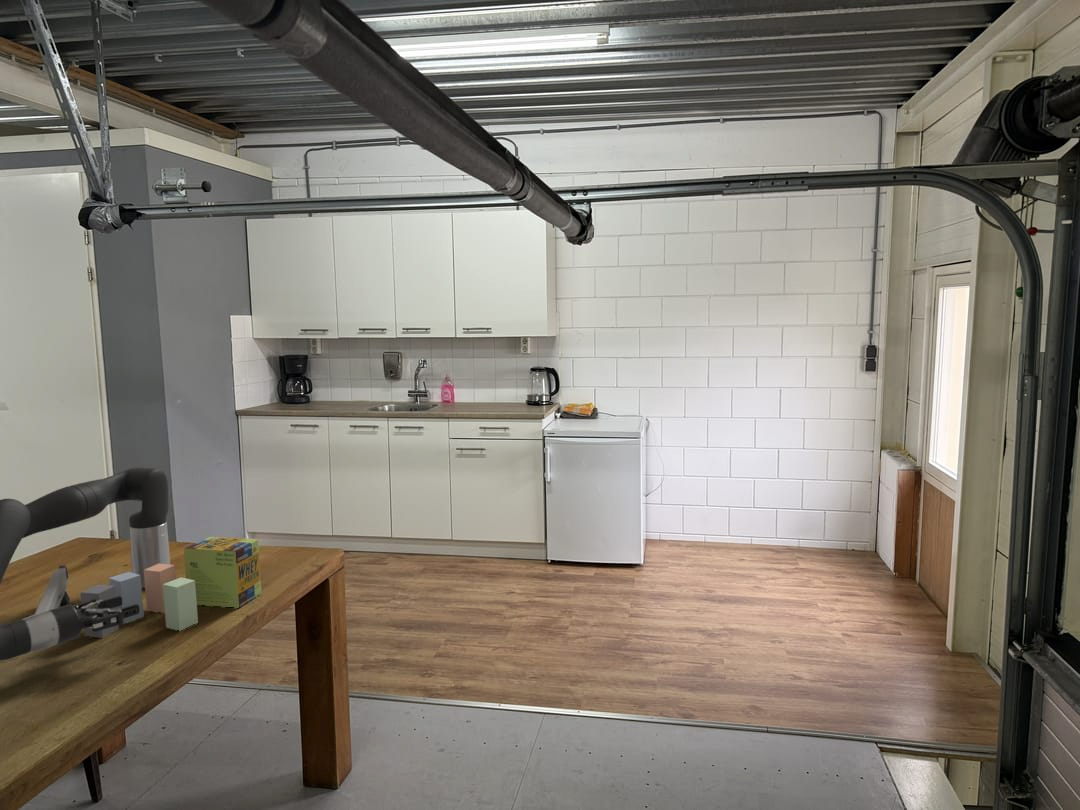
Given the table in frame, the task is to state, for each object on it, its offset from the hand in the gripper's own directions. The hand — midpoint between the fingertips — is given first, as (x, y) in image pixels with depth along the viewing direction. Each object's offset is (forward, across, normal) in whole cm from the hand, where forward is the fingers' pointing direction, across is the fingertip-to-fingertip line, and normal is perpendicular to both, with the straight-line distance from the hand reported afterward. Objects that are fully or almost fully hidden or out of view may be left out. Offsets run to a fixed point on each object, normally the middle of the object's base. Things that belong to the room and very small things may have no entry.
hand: (129, 604), depth 165 cm
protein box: (+27, +7, +9) cm, 29 cm away
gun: (-4, +32, +10) cm, 34 cm away
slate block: (+6, +15, +9) cm, 19 cm away
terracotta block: (+14, +15, +9) cm, 22 cm away
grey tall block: (-2, +12, +9) cm, 15 cm away
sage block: (+12, 0, +9) cm, 15 cm away
